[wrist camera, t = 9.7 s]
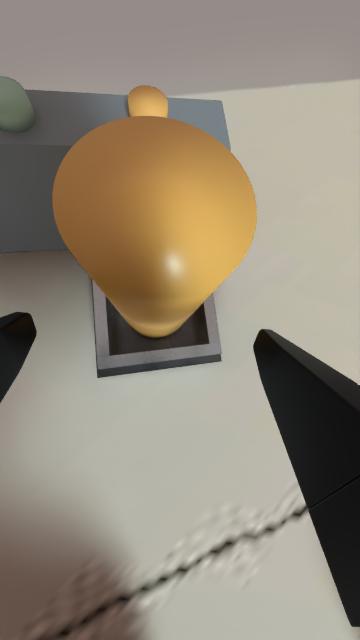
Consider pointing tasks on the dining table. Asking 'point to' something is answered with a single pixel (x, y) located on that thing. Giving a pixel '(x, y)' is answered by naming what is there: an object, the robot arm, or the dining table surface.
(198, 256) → the peg
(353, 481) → the robot arm
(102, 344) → the box
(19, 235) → the block
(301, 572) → the dining table surface
